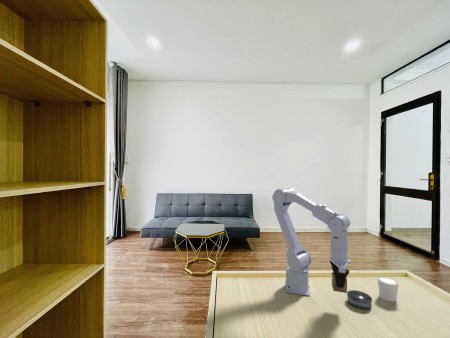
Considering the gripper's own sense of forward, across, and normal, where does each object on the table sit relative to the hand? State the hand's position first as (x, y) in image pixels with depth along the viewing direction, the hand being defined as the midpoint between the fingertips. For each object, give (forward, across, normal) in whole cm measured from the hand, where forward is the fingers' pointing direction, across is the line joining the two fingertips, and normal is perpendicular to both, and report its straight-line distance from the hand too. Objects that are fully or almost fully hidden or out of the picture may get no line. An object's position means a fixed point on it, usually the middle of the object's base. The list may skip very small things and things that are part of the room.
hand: (338, 283), depth 84 cm
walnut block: (+2, 0, 0) cm, 2 cm away
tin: (+9, +6, -8) cm, 13 cm away
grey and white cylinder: (+9, +14, -20) cm, 26 cm away
